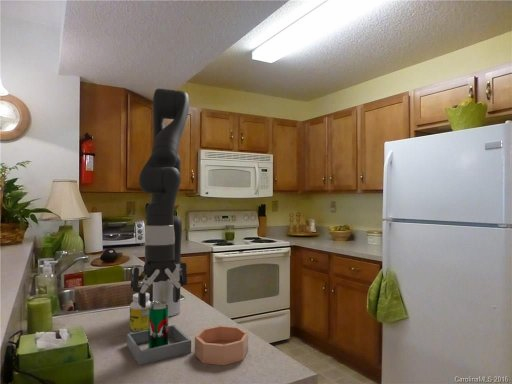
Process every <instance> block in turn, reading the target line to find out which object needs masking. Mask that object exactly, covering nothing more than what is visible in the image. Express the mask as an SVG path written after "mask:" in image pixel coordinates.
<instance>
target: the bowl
mask: <svg viewBox="0 0 512 384" xmlns="http://www.w3.org/2000/svg"><path fill="white" fill-rule="evenodd" d="M248 352H249V333H248V331H245V330H244V329H243V328H241V327H239V326H229V325H215V326H212V327H207V328H203V329H201V330H200V331H199V332H198V333H197V334H196V335H195V336H194V355H195V357H196V358H197V359H199V361H201V362H202V363H203V364H208V365H209V364H211V365H218V366H226V365H230V364H234V363H238V362H241V361H244V359H245V358H246V356H247V354H248Z"/></svg>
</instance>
